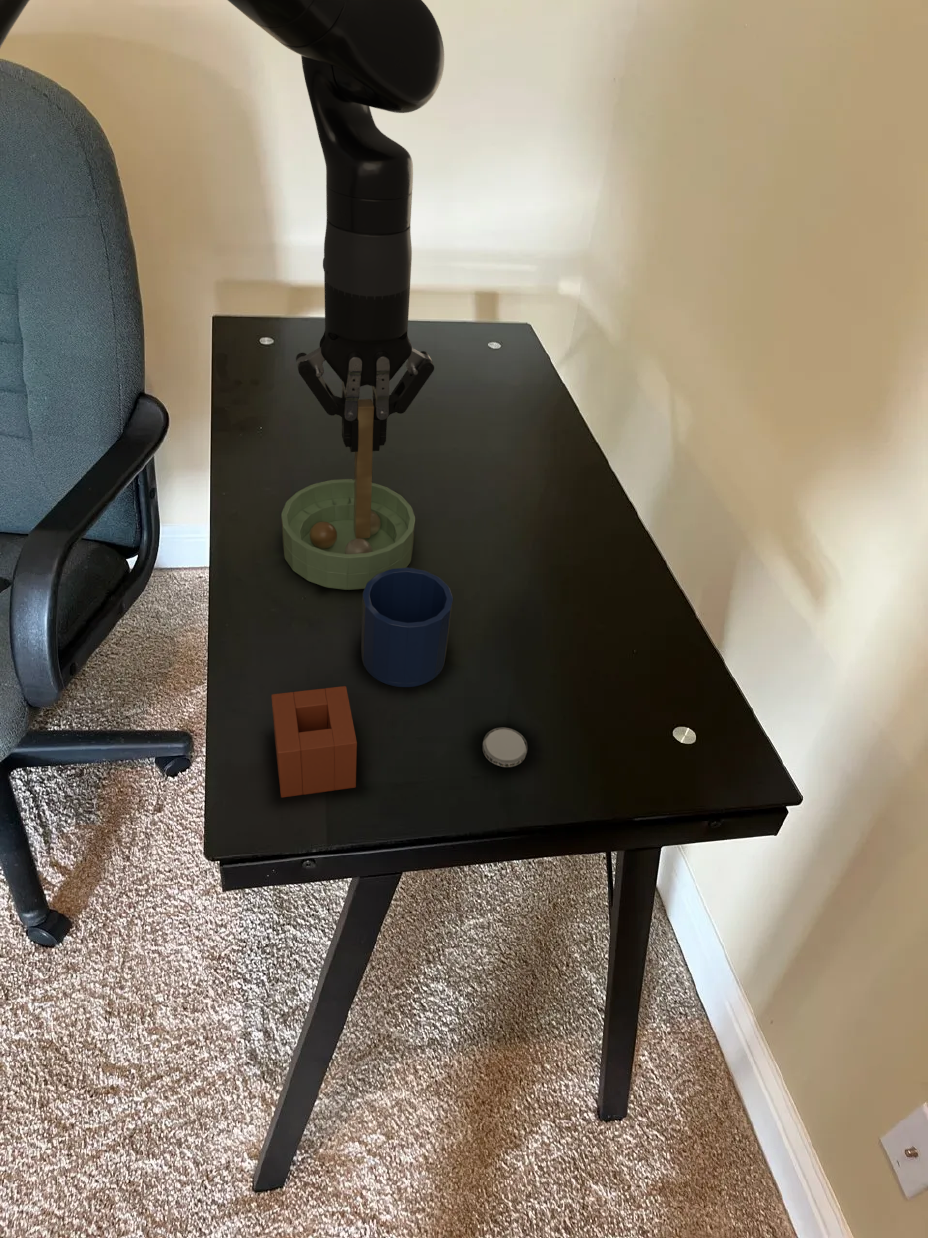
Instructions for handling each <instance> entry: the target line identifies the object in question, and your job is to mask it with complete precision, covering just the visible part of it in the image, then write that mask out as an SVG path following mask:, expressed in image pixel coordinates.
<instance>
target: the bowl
mask: <svg viewBox="0 0 928 1238" xmlns="http://www.w3.org/2000/svg"><path fill="white" fill-rule="evenodd" d="M371 510H372V511H374V512H375V513H376V514H377V515H378V516H379V518H380V521H381V525H380V529H379V531H378V532H377V533H376V534H374V535H372V536H370V538H361V539H364V540H366V541H368V542H369V543H370V545H371V547H372V550H373V552H369V553H360V554H345V548H346V545H347V544H348V543H349V542H350V541H351V540H353V539H356V537H355V533H354V479H351V478H346V479H345V478H344V479H342V478H341V479H329V480H325V481H321V482H320V481H319V482H316V483H313V484H310V485H308V486H306V487H303V488H302V489H300V490H297V491H296V492H295V493H293V495H292V496H291V497H290V498H289V499H288V500H287V501H286V502H285V504H284V506H283V508H282V511H281V514H280V516H281V519H280V520H281V533H282V548H283V556H284V559H285V561H286V562H287V564H288V565H289V567H290V568H291V570H292V571H293V572H294V573H296V574H297V575H298V576H300V577H301V578H304V580H305V581H308V582H311V583H313V584H317V585H319V586H321V587H324V588H328V589H337V590H343V591H344V590H345V591H347V590H348V591H350V590H351V591H352V590H364V589H365V587H366V584H367V583H368V582H369V581H370V580H371V579H372V578H373V577H375V576H376V575H377V574H379V573H382V572H385V571H387V570H390V569H397V568H408V566H409V564H411V562H412V557H413V551H414V543H415V542H414V541H415V540H414V539H415V526H416V516H415V513H414V510H413V507H412V506H411V504H410V503H409V502H408V501H407V500H406V499H405V498H404V497H403V496H402V495H401V494H399V493H397V492H396V491H394V490H393V489H391V488H389V487H387V486H384V485H382V484H378V483H375V482H372V492H371ZM322 521H324V522H328V523H330V524H332V525H333V526H334V527H335V529H336V531H337V539H336V542H335V543H334V545H332V546H331V547H329V548H326V549H321V548H318V547H316V546H315V545H314V544H313V543H312V542H311V540H310V530H311V528H312V527H313V525H315V524H316V523H318V522H322Z"/></svg>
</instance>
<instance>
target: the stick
mask: <svg viewBox="0 0 928 1238" xmlns="http://www.w3.org/2000/svg"><path fill="white" fill-rule="evenodd" d="M357 419H358V421H359V426H358V452H354V472H353V473H354V477H353V478H354V479H353V480H354V533H355V537H356V538H370V526H371V492H372V483H373V456H374V451H372V450H373V419H374V405H373V401H372V398H361V399H360V398H359V400H358V408H357Z"/></svg>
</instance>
